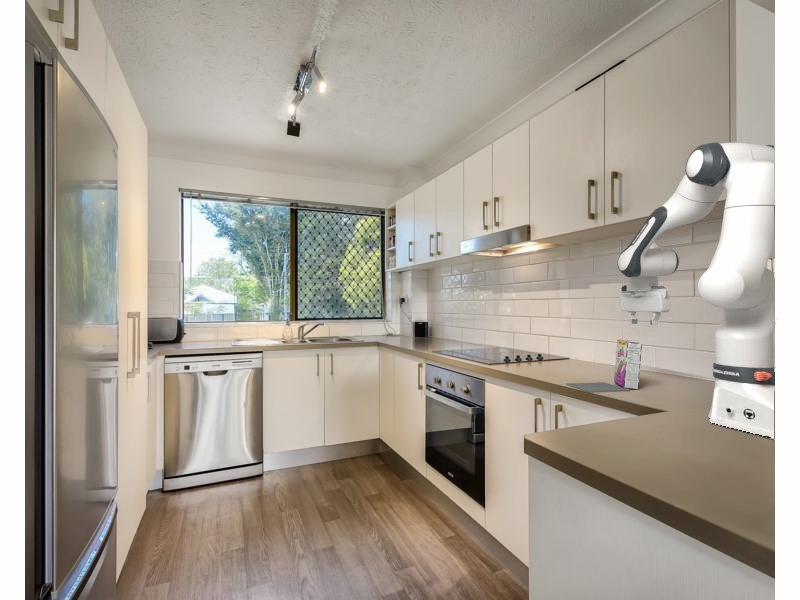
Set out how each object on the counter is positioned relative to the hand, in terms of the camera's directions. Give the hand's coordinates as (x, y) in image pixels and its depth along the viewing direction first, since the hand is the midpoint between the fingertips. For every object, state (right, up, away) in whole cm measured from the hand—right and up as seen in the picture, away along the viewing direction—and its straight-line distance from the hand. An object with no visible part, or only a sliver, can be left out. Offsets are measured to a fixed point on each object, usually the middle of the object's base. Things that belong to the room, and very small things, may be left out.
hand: (643, 324), depth 144 cm
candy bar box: (-8, -22, -2) cm, 24 cm away
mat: (-19, -22, -4) cm, 30 cm away
